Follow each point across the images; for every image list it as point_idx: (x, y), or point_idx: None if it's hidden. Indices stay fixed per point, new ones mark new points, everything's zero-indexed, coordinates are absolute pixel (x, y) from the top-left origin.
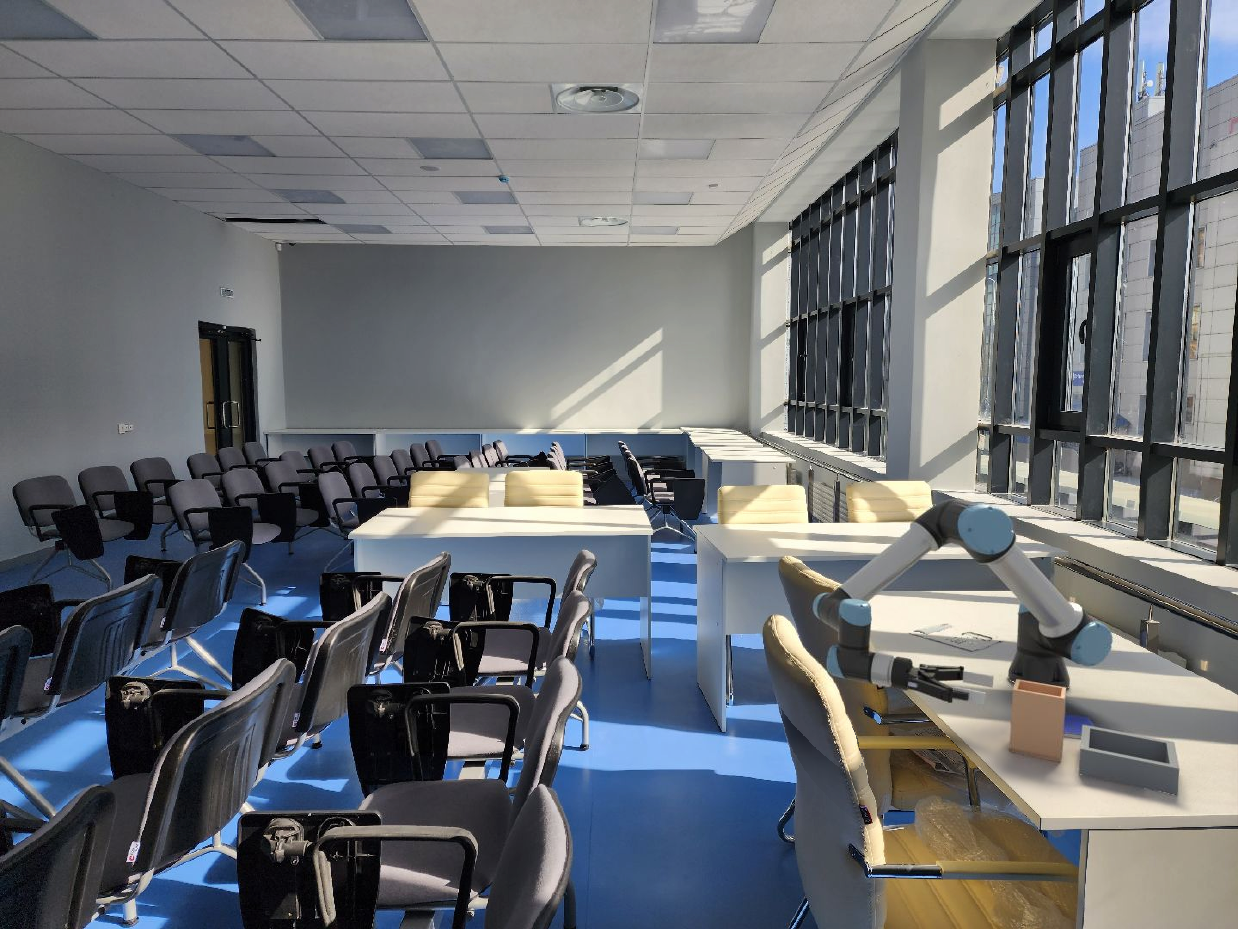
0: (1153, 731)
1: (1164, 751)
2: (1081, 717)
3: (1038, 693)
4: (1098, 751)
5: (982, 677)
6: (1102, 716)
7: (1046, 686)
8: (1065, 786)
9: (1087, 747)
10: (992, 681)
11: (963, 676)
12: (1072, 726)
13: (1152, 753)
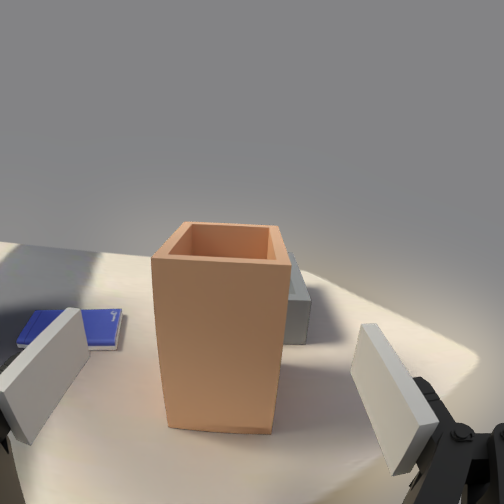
0: (73, 278)
1: None
2: (36, 314)
3: (278, 240)
4: (302, 287)
5: (60, 345)
6: (21, 301)
7: (184, 235)
8: None
9: (296, 294)
10: (83, 331)
11: (17, 417)
12: None
13: None
